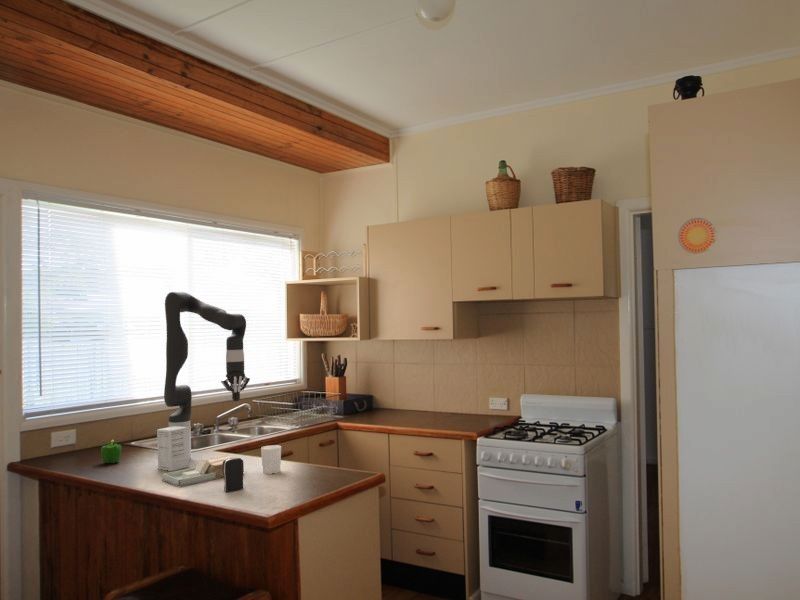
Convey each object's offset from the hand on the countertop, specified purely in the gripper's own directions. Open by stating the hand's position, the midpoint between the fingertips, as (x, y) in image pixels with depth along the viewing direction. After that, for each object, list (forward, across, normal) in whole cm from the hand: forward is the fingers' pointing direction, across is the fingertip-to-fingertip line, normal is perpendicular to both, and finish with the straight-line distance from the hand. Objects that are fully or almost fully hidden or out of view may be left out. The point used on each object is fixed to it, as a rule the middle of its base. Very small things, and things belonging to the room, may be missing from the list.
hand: (236, 400), depth 268 cm
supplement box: (+27, +21, -16) cm, 38 cm away
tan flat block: (+27, +12, +9) cm, 31 cm away
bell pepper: (+27, +35, -49) cm, 66 cm away
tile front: (+24, +25, +9) cm, 36 cm away
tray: (+27, +26, +9) cm, 39 cm away
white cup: (+27, -2, +24) cm, 36 cm away
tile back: (+24, +19, +9) cm, 32 cm away
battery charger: (+27, +22, +37) cm, 51 cm away
